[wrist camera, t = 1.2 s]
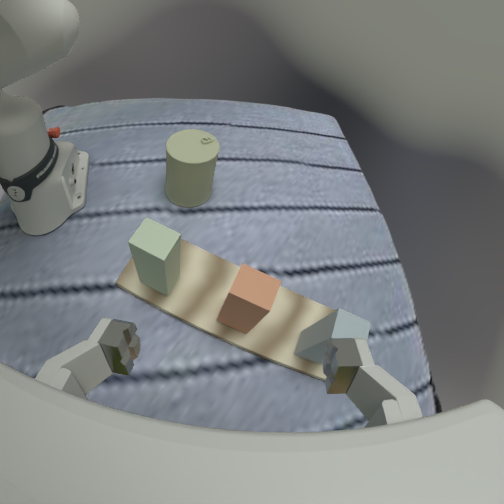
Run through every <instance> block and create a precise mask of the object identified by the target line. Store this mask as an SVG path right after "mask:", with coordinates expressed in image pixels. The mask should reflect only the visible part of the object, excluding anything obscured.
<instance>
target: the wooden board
mask: <svg viewBox="0 0 504 504" xmlns="http://www.w3.org/2000/svg"><path fill="white" fill-rule="evenodd" d="M239 269H240V267H239V266H237V265H235V264H233V263H231V262H228V261H226V260H224V259H222V258H220V257H218V256H216V255H214V254H212V253H210V252H207V251H205V250H203V249H201V248H199V247H197V246H195V245H193V244H191V243H189V242H187V241H185V240H182V239H181V249H180V276H179V278H178V280H177V281H176V283H175V285H174V287H173V288H172V290H171V292H170V294H169V296H166V295H164V294H162V293H160V292H158V291H156V290H155V289H153V288H151V287H149V286H147V285H145V284H143V283H142V282H140V280H139V277H138V273H137V270H136V267H135V264H134V260H133V257H132V258H131V259H130V261H129V263H128V264H127V266H126V267H125V269H124V270H123V272H122V273H121V275H120V276H119V278H118V280H117V281H116V284H117V286H118V287H120V288H122V289H124V290H125V291H127V292H129V293H131V294H132V295H134V296H136V297H138V298H140V299H141V300H143V301H145V302H147V303H149V304H150V305H152V306H154V307H156V308H158V309H160V310H162V311H164V312H165V313H167V314H169V315H171V316H173V317H175V318H177V319H179V320H181V321H183V322H185V323H187V324H189V325H191V326H193V327H195V328H197V329H199V330H201V331H204V332H206V333H208V334H210V335H212V336H214V337H216V338H219V339H221V340H223V341H225V342H227V343H230V344H232V345H234V346H236V347H239V348H241V349H243V350H246V351H248V352H250V353H253V354H255V355H257V356H260V357H262V358H265V359H267V360H270V361H272V362H275V363H277V364H280V365H282V366H285V367H287V368H290V369H293V370H295V371H298V372H301V373H303V374H306V375H309V376H312V377H314V378H317V379H320V380H323V381H325V380H326V377H327V376H326V375H325V374H324V373H323V364H322V365H321V364H318V363H315V362H313V361H310V360H308V359H305V358H302V357H300V356H297V355H295V354H294V352H295V349H296V346H297V343H298V340H299V337H300V334H301V331H303V330H304V329H306V328H308V327H309V326H311V325H313V324H314V323H316V322H317V321H319V320H321V319H322V318H324V317H326V316H327V315H329V314H330V313H332V312H334V311H335V310H333V309H330V308H328V307H326V306H324V305H322V304H319V303H317V302H315V301H313V300H310V299H308V298H306V297H304V296H302V295H299V294H297V293H295V292H293V291H291V290H289V289H286V288H284V287H282V286H280V287H279V289H278V292H277V295H276V297H275V300H274V302H273V305H272V308H271V310H270V312H269V313H268V314H267V315H266V316H265V317H264V318H263V319H262V320H261V321H260V322H259V323H258V324H257V325H256V326H255V327H254V328H252V329H251V330H250V331H249V332H248V333H247V334H245V333H243V332H241V331H238V330H236V329H234V328H232V327H230V326H227V325H225V324H223V323H221V322H219V321H217V320H216V319H217V317H218V315H219V312H220V310H221V308H222V306H223V304H224V301H225V299H226V297H227V295H228V293H229V291H230V288H231V286H232V284H233V282H234V280H235V278H236V276H237V274H238V271H239Z"/></svg>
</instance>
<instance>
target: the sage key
mask: <svg viewBox="0 0 504 504" xmlns="http://www.w3.org/2000/svg"><path fill="white" fill-rule="evenodd" d="M128 243H129V246H130V250H131V253H132V257H133V260H134V264H135V267H136V270H137V273H138V277H139V280H140V282H142V283H143V284H145V285H147V286H149V287H151V288H153V289H155V290H156V291H158V292H160V293H162V294H164V295H166V296H169V294H170V292H171V290H172V288H173V287H174V285H175V283H176V281H177V280H178V278H179V276H180V249H181V234H180V233H178V232H176V231H174V230H172V229H169V228H167V227H165V226H163V225H161V224H159V223H157V222H155V221H153V220H151V219H149V218H147V217H146V218H145V219H144V221H143V222H142V224H141V225H140V226H139V228H138V229H137V230H136V232H135V233H134V235H133V236H132V237H131V239H130V240H129V242H128Z"/></svg>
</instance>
